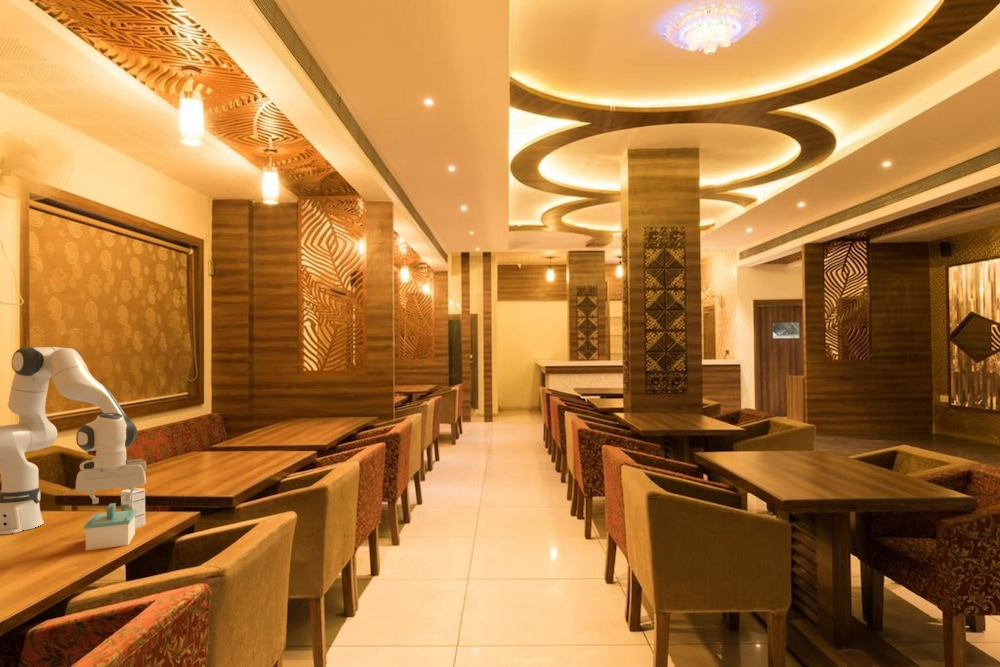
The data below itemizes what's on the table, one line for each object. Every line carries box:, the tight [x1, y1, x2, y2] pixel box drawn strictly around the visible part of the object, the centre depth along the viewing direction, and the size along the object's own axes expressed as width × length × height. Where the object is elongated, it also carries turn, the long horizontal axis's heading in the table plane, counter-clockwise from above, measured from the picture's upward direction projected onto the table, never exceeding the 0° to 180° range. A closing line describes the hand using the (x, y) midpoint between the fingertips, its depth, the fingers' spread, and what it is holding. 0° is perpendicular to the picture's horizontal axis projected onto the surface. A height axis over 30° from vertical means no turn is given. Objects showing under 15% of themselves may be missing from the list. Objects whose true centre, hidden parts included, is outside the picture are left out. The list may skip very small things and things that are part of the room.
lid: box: [83, 502, 136, 530], centre depth 208 cm, size 13×15×6 cm
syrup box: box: [120, 487, 147, 529], centre depth 227 cm, size 6×6×14 cm
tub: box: [85, 516, 136, 551], centre depth 208 cm, size 12×14×8 cm
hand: (111, 501), depth 209 cm, fingers open, 8 cm apart
